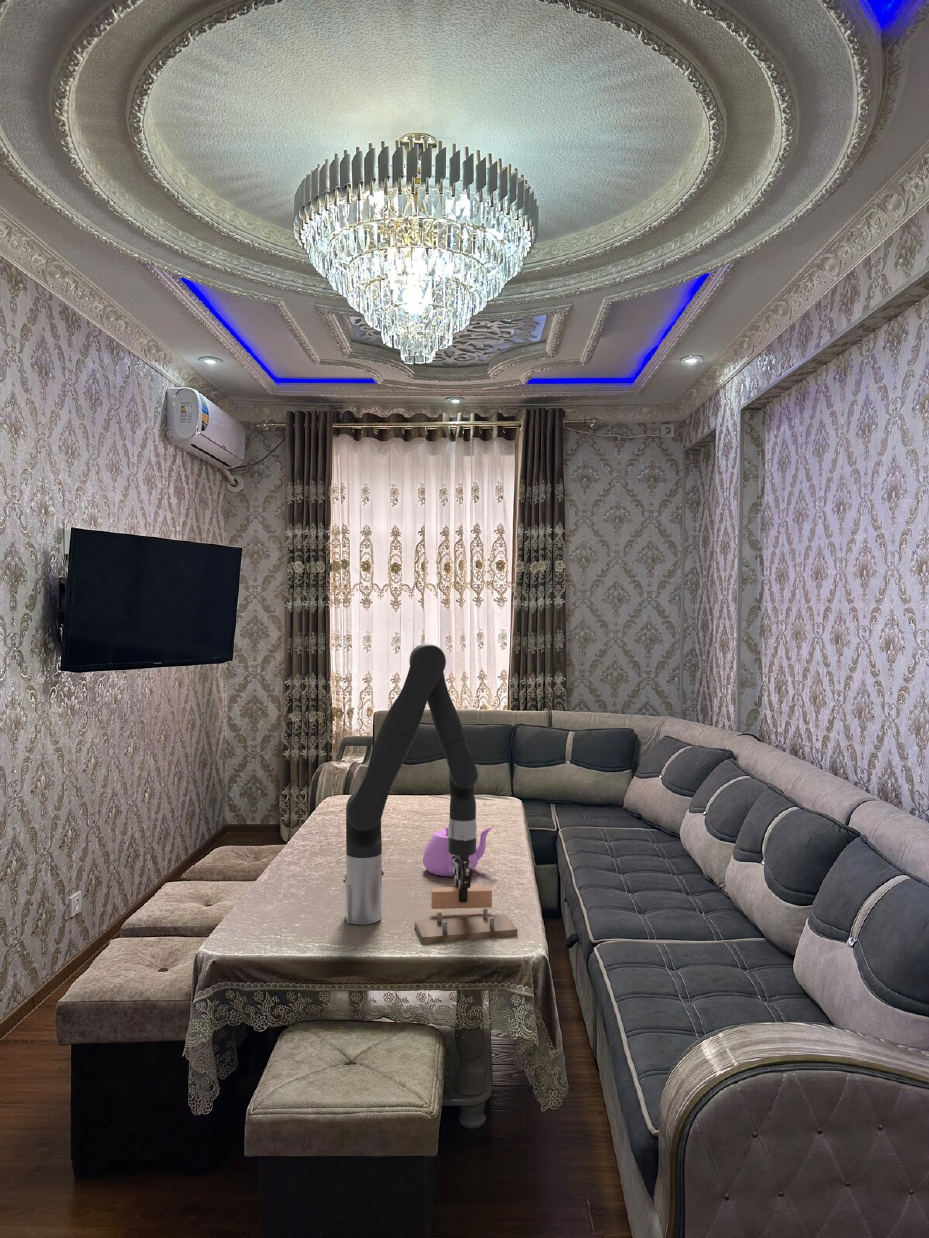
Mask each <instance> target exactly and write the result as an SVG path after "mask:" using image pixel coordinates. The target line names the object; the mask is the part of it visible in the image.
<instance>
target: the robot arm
mask: <svg viewBox="0 0 929 1238" xmlns="http://www.w3.org/2000/svg"><path fill="white" fill-rule="evenodd" d="M446 658H447V657H446V655H445V653H444V651H443V650H442V649H441V648H440V647H439V646H437V645H435V644H432V643H421V644H418V645H416V647H414V649H412V651H411V653H410V655H409V658H408V659H409V660H408V661H409V669H408V672H407V675H406V677H405V681H404V684H403V686H402V689H401V691H400V692H399V694H398V696H397V698H396V699H395V700H394V701H393V703H392V705H391V707H390V709H389V710H388V711H387V713H386V716H385V717H384V719H383V722H382V724H381V726H380V727H379V730H378V733H377V735H376V737H375V740H374V744H373V747H372V750H371V753H370V754H371V755H370V758H369V763H368V767H367V770H366V772H365V775H364V778H363V780H362V782H361V784H360V786H359V788H358V790H357V791H354V792H353V793H352V794H351V795H350V796H349V798H348V799H347V802H346V807H345V808H346V809H345V824H346V825H345V829H346V831H345V846H346V847H345V849H346V851H345V852H346V853H345V855H346V859H345V860H346V862H345V864H346V866H345V867H346V869H345V871H346V872H345V875H346V878H345V879H346V881H345V882H344V883H345V885H344V891H345V893H344V895H345V896H344V897H345V899H344V901H345V904H344V906H345V908H344V910H345V911H344V912H345V913H344V916H345V920H346V924H349V925H351V924H353V925H362V926H363V925H365V926H367V925H371V924H372V925H373V924H376V923H378V922H380V921H381V920H382V918H383V915H382V913H383V909H382V908H383V907H382V905H383V902H382V900H383V899H382V898H383V897H382V896H383V892H382V890H383V889H382V886H383V885H382V883H383V881H382V879H383V877H382V876H383V874H382V871H383V868H382V867H383V864H382V863H383V843H382V842H383V841H382V838H383V837H382V817H383V814H384V810H385V807H386V804H387V800H388V797H389V794H390V791H391V788H392V787H393V783H394V781H395V780H396V777H397V776H398V774H399V772H400V770H401V768H402V765H403V764H404V762H405V760H406V758H407V756H408V753H409V751H410V750H411V747H412V744H413V742H414V740H415V738H416V735H417V733H418V730H419V727H420V724H421V721H422V718H423V715H424V712H425V708H426V707H427V705H428V708H429V711H430V714H431V718H432V722H433V725H434V729H435V732H436V735H437V739H438V741H439V745H440V747H441V749H442V752H443V754H444V755H445V759H446V762H447V765H448V770H449V771H448V775H449V776H448V781H449V795H450V801H449V802H450V803H449V819H448V826H449V827H448V852H449V853H450V854H452V863H453V876H452V878H453V879H454V881H453V882H454V885H455V886H454V887H459V902H460V903H466V902H467V897H468V888H470V887H472V886H471V883H472V876H473V870H472V868H470V867H471V862H470V861H469V856H470V855H473V854H475V853H476V847H477V830H478V829H477V827H478V826H477V819H476V818H477V801H476V798H475V784H476V783H477V782H478V778H479V772H478V768H477V766H476V763H475V760H474V758H473V756H472V753H471V751H470V748H469V745H468V741H467V738H466V737H467V736H466V734H465V730H464V728H463V725H462V722H461V719H460V716H459V714H458V712H457V709H456V707H455V704H454V702H453V701H452V697H451V695H450V692H449V689H448V687H447V683H446V677H445V673H444V671H445V668H446V664H447V660H446ZM379 920H380V921H379ZM377 921H378V922H377Z"/></svg>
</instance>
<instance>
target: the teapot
mask: <svg viewBox="0 0 929 1238" xmlns="http://www.w3.org/2000/svg"><path fill="white" fill-rule="evenodd" d="M448 827H449V825H447V826H444V829H443V830H442V829H441V830H438V831H437V830H436V832H434V833H433V835H432V836H431V837H430V839H429V840H428V843H427V844H426V846H425V849H424V851H423V857H422V863H423V866H424V867H425V869H426V871H428V872H429V873H431V874H432V875H436V876H439V875H440V876H441V877H453V863H452V854H450V853H449V852H448ZM492 829H494V828H493V826H492V827H488V828H485V829H483V830H482V831H481V832H480V837H479V844H477V845H476V853H475V854H473V855H470V856H469V861H470V862H471V867H470V868H472V871H474V869H475V868H476V867H477V865H478V864H479V863H478V862H479V860H480V859H482V857H483V856H484V855H485V853H486V844H487V843H486V842H487V836H488V833H489V832H490V831H492Z"/></svg>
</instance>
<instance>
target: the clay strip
mask: <svg viewBox="0 0 929 1238" xmlns="http://www.w3.org/2000/svg"><path fill="white" fill-rule="evenodd" d="M492 901H493V890H492V887H491V886H471V887H470V888H468V897H467V902H466V903H460V902H459V887H455V886H452V887H451V886H449V887H447V886H445V887H440V886H439V887H430V909H431V910H440V909H441V910H442V909H443V910H444V909H445V910H446V909H451V910H452V909H454V910H455V909H483V908H487V909H489V908H492V907H493V906H492V905H493V904H492V903H493V902H492Z"/></svg>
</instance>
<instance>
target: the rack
mask: <svg viewBox="0 0 929 1238" xmlns="http://www.w3.org/2000/svg"><path fill="white" fill-rule="evenodd" d="M488 909H489V908H482V915H476V916H475V915H474V916H462V917H452V918H449V917H448V918H443V912H442V911H437V912H436V919H428V920H427V919H426V920H414V928H415V927H416V929H415V930H417V931H416V933H417V932H418V933H417V934H419V935H418V937H419V939H420V941H422V942H421V943H422V944H432V943H445V942H446V943H447V942H455V941H467V940H468V941H469V940H478V939H479V940H481V939H489V938H490V939H491V938H499V937H500V938H501V937H502V938H503V937H511V936H515V937H516V936H518V928H517V927H516V925H515V924H514V923H513V921H511V919H510V918H509V916H508V915H507V914H506V913H500V914H488Z"/></svg>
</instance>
